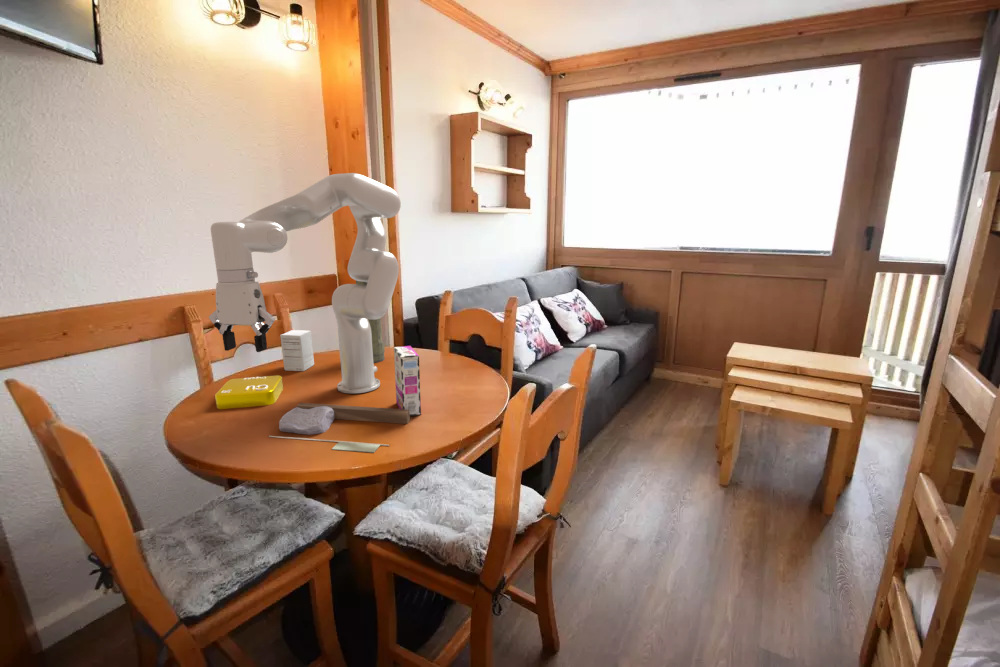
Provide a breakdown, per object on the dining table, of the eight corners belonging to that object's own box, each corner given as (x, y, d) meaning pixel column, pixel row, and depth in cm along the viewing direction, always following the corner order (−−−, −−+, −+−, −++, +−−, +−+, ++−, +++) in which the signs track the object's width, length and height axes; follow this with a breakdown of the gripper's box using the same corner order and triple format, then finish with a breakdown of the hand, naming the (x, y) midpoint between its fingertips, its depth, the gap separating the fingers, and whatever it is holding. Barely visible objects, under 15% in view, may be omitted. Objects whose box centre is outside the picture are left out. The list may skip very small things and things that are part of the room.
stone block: (325, 441, 115) (337, 417, 124) (321, 425, 113) (334, 401, 122) (276, 443, 115) (292, 419, 124) (271, 427, 113) (287, 403, 122)
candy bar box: (422, 415, 126) (419, 355, 122) (403, 417, 124) (400, 357, 120) (413, 400, 136) (410, 344, 132) (395, 402, 134) (392, 346, 130)
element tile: (284, 387, 147) (282, 373, 146) (274, 405, 133) (272, 389, 132) (231, 392, 144) (228, 377, 143) (214, 411, 130) (212, 394, 128)
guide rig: (301, 413, 127) (300, 402, 126) (409, 420, 122) (409, 409, 121) (259, 443, 110) (257, 431, 109) (382, 453, 105) (381, 441, 104)
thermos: (381, 354, 182) (375, 261, 173) (387, 362, 171) (381, 264, 163) (357, 356, 178) (350, 262, 170) (362, 365, 168) (355, 265, 159)
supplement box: (295, 364, 170) (291, 329, 167) (315, 365, 169) (311, 330, 166) (283, 370, 162) (279, 334, 159) (303, 371, 161) (300, 335, 158)
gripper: (280, 275, 113) (288, 347, 117) (214, 274, 115) (224, 344, 120) (259, 279, 105) (269, 355, 110) (190, 278, 108) (201, 352, 112)
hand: (246, 349), depth 115 cm, fingers open, 7 cm apart
